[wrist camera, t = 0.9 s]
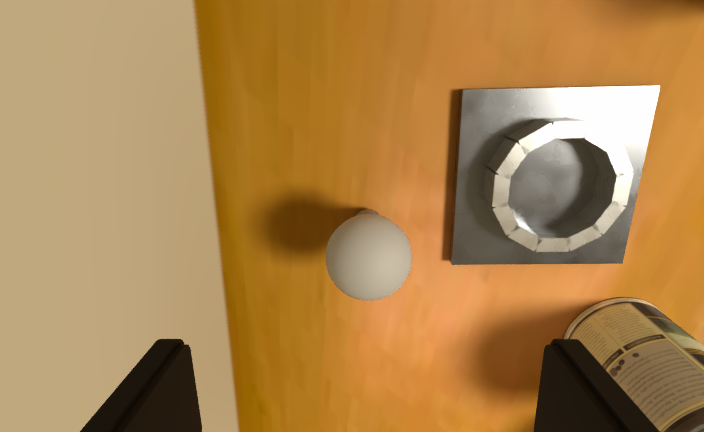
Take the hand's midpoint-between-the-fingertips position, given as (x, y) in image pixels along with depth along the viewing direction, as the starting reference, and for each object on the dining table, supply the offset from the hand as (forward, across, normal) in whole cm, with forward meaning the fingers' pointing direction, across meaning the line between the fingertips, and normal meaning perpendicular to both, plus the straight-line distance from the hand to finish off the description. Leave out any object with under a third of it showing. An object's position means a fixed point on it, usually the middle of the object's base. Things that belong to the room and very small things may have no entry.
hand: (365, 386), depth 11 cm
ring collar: (+26, -15, 0) cm, 30 cm away
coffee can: (+27, -24, +16) cm, 40 cm away
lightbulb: (+26, 0, +3) cm, 27 cm away
